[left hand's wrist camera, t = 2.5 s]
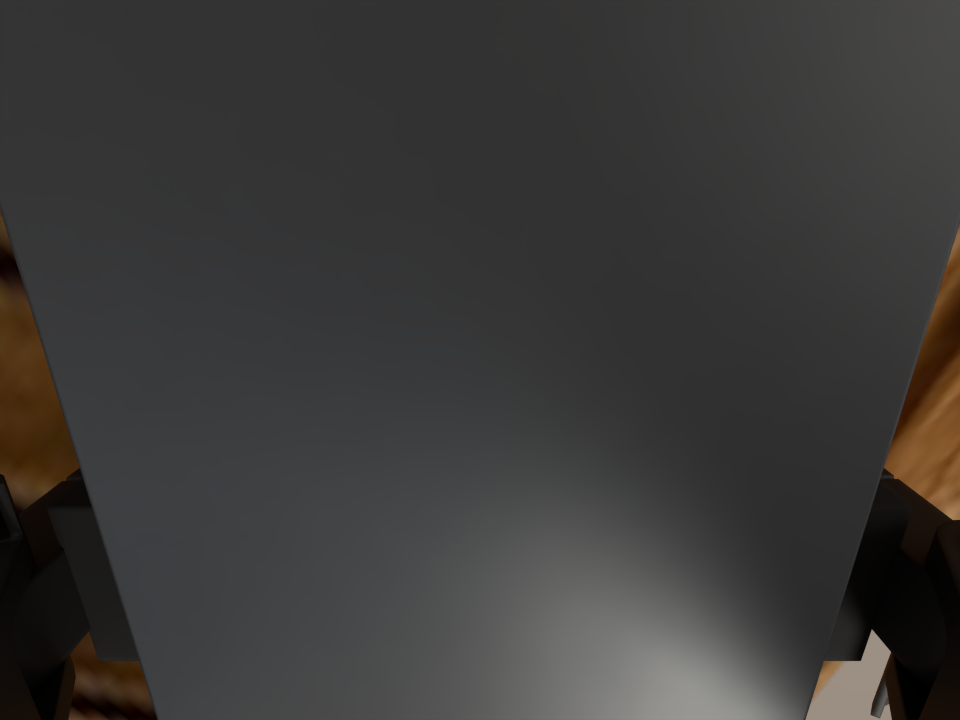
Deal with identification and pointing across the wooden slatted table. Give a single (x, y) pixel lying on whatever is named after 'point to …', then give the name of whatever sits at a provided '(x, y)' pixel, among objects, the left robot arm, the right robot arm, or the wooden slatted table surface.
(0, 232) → the wooden slatted table surface
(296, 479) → the box
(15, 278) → the wooden slatted table surface
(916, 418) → the wooden slatted table surface
